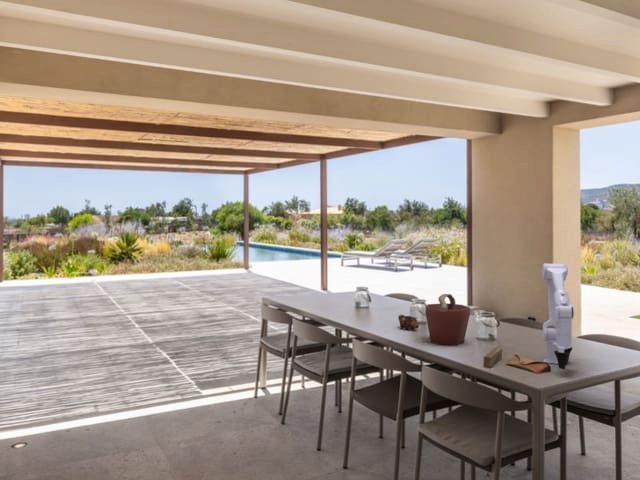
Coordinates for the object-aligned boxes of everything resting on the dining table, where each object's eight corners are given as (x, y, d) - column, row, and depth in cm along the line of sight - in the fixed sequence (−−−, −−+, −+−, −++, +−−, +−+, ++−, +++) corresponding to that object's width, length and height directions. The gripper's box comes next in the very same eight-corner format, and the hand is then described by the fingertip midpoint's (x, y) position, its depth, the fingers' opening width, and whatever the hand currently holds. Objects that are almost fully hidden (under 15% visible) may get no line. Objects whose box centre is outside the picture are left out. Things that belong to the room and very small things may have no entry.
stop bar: (501, 357, 238) (501, 348, 238) (490, 368, 221) (490, 357, 221) (495, 356, 239) (495, 347, 239) (483, 367, 223) (483, 356, 222)
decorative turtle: (402, 326, 311) (404, 312, 311) (423, 331, 300) (424, 318, 299) (392, 327, 305) (393, 313, 304) (412, 333, 293) (413, 319, 293)
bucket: (453, 349, 253) (453, 299, 252) (414, 342, 268) (414, 294, 267) (475, 341, 271) (476, 294, 270) (438, 335, 286) (438, 290, 285)
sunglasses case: (502, 364, 227) (507, 350, 228) (511, 370, 230) (516, 356, 232) (538, 374, 212) (544, 359, 213) (547, 380, 215) (552, 365, 217)
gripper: (555, 329, 223) (555, 361, 223) (550, 335, 210) (550, 368, 211) (574, 331, 219) (573, 363, 219) (569, 338, 207) (569, 371, 207)
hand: (563, 366), depth 215 cm, fingers open, 7 cm apart
